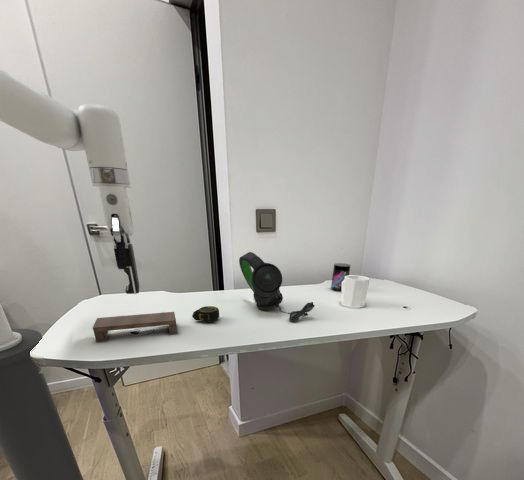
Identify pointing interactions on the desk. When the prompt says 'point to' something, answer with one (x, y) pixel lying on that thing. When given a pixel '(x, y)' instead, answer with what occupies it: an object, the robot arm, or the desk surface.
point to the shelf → (133, 323)
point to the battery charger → (131, 274)
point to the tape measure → (206, 314)
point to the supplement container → (339, 275)
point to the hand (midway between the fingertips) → (126, 262)
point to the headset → (266, 284)
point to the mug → (354, 291)
